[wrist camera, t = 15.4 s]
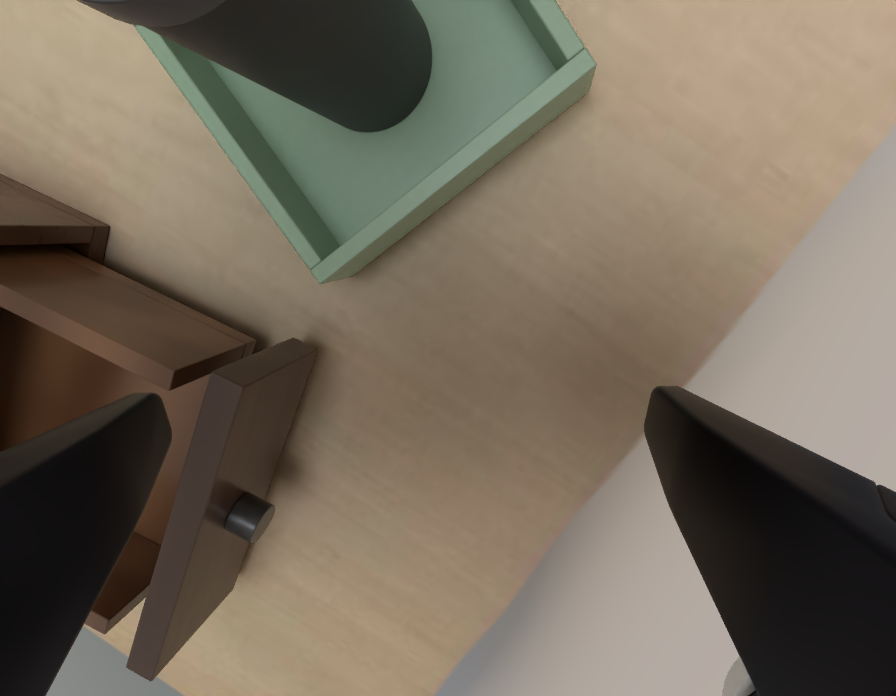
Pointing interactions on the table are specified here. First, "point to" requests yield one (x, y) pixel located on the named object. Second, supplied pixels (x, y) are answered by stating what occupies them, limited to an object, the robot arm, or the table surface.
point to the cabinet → (47, 222)
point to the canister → (305, 49)
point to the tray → (397, 148)
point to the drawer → (190, 415)
